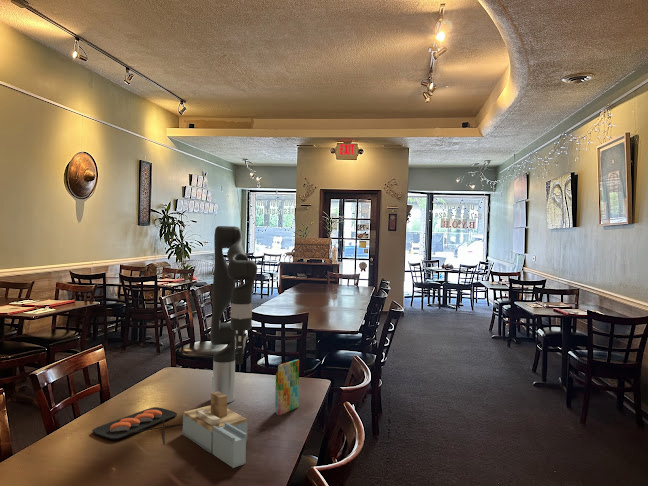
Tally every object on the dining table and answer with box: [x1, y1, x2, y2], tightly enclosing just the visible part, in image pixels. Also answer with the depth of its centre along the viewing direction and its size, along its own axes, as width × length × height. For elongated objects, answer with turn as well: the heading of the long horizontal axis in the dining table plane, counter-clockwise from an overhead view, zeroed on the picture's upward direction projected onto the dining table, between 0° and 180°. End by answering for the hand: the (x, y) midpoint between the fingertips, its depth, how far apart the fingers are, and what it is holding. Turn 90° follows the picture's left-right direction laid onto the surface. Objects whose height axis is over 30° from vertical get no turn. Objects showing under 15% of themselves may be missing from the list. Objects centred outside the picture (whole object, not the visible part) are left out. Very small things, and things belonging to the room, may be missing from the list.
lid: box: [183, 391, 248, 432], centre depth 164 cm, size 20×14×8 cm
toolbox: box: [182, 414, 249, 469], centre depth 160 cm, size 33×14×9 cm, turn 43°
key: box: [196, 409, 220, 426], centre depth 159 cm, size 12×2×2 cm, turn 43°
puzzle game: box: [274, 359, 300, 416], centre depth 193 cm, size 12×5×20 cm, turn 144°
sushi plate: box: [91, 406, 183, 446], centre depth 171 cm, size 29×30×4 cm
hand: (240, 360), depth 169 cm, fingers open, 8 cm apart
